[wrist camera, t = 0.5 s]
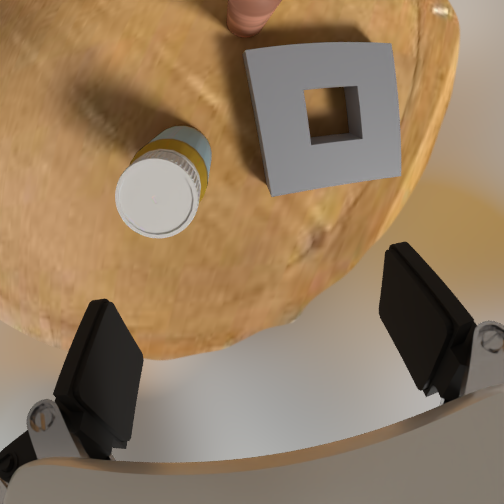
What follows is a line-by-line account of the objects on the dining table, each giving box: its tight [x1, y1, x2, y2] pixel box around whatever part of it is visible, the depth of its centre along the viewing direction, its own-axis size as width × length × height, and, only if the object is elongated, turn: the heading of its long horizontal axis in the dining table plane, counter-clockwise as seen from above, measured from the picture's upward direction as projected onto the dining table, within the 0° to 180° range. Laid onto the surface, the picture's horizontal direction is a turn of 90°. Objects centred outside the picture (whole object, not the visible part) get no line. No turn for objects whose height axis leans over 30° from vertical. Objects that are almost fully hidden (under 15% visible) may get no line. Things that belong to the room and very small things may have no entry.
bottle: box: [115, 125, 211, 238], centre depth 27 cm, size 7×7×15 cm
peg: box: [227, 0, 282, 37], centre depth 21 cm, size 4×4×12 cm
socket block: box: [243, 42, 401, 197], centre depth 30 cm, size 16×16×4 cm
